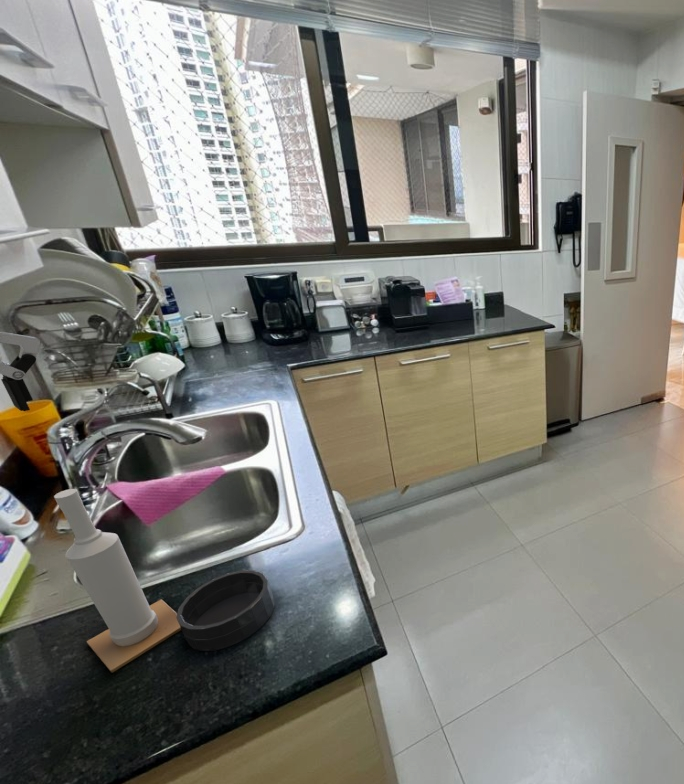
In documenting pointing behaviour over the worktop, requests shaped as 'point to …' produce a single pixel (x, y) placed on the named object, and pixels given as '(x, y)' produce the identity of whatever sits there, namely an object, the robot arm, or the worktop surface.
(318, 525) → the worktop surface
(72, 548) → the bottle
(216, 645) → the dark grey round tray
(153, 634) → the cork mat
